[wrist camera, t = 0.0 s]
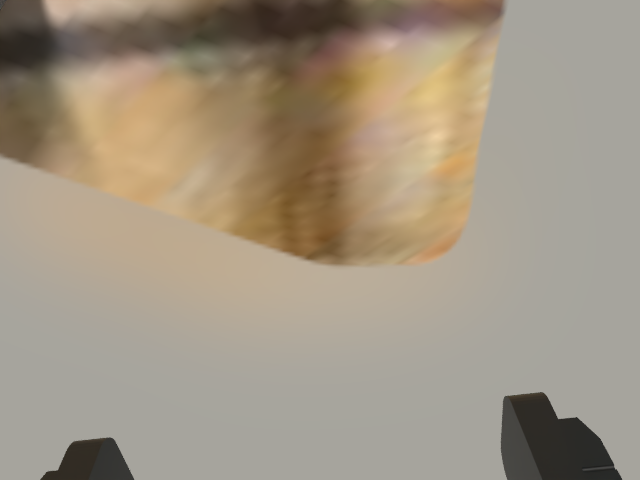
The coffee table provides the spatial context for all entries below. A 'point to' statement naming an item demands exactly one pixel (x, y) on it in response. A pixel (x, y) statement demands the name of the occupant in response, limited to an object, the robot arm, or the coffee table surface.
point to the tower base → (2, 3)
